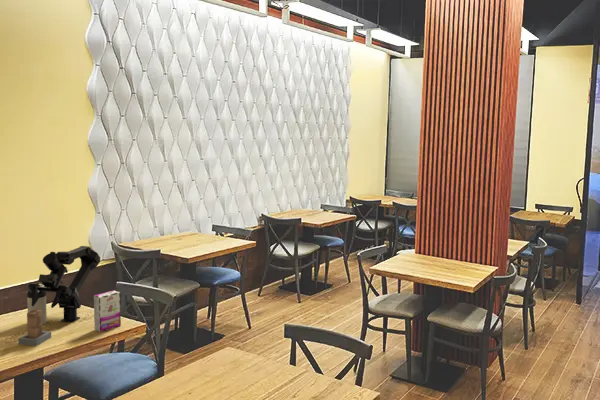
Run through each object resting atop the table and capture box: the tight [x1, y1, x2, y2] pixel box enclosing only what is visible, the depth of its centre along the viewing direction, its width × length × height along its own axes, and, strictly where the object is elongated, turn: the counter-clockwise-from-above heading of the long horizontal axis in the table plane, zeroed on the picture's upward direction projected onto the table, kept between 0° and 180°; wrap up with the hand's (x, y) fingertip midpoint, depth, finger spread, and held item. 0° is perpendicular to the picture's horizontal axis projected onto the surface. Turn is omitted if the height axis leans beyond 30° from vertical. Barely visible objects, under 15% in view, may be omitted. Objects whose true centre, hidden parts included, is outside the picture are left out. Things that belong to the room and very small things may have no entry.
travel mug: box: [26, 283, 48, 326], centre depth 270 cm, size 8×8×18 cm
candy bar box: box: [93, 290, 122, 333], centre depth 267 cm, size 11×5×16 cm, turn 143°
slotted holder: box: [17, 330, 52, 347], centre depth 250 cm, size 10×8×2 cm
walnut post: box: [26, 310, 43, 339], centre depth 249 cm, size 5×4×13 cm
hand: (42, 306), depth 254 cm, fingers open, 9 cm apart
